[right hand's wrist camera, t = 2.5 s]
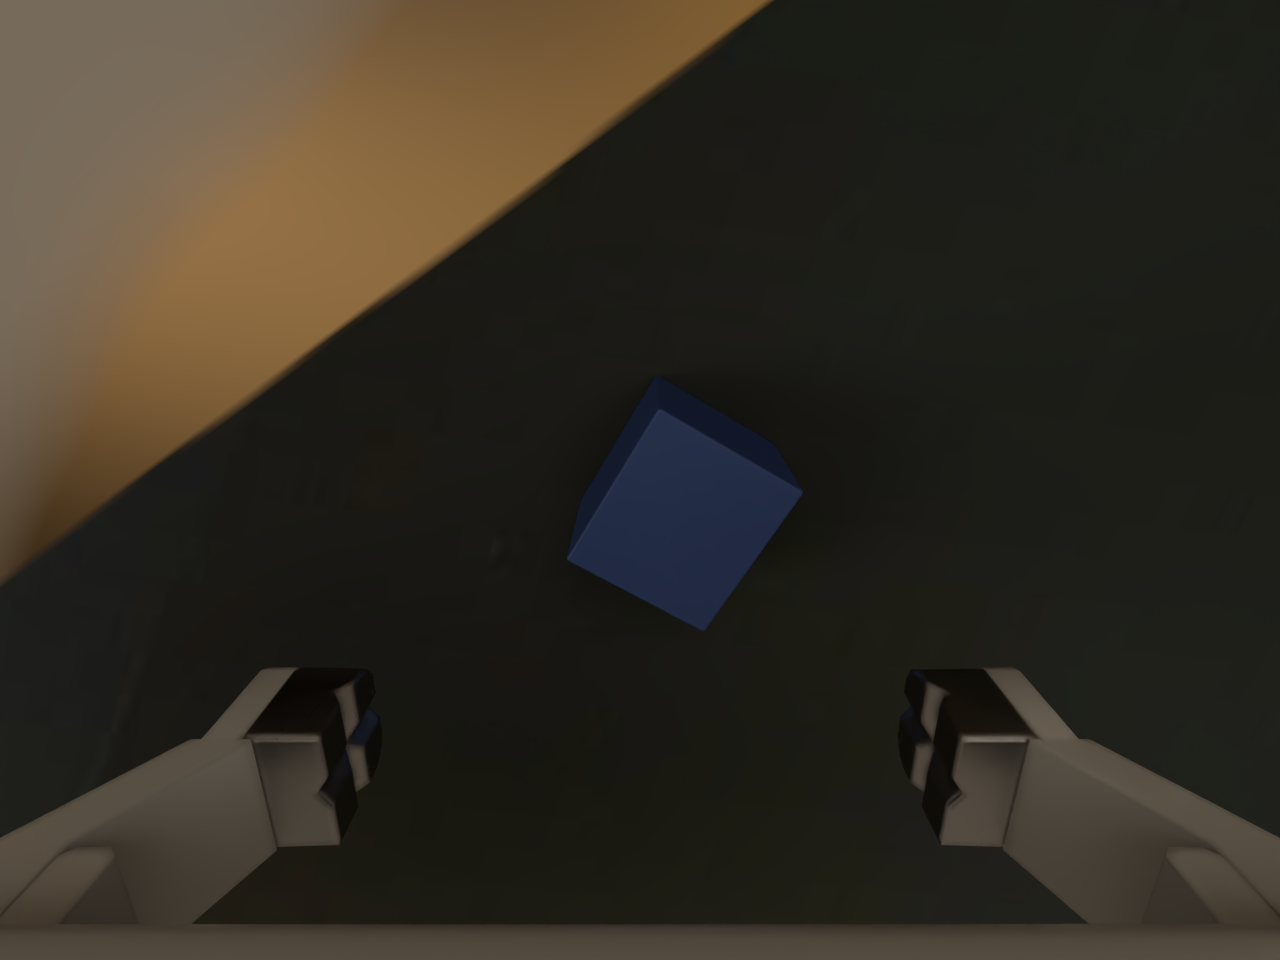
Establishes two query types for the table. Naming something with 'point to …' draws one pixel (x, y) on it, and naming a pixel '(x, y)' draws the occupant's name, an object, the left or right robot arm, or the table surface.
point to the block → (682, 505)
